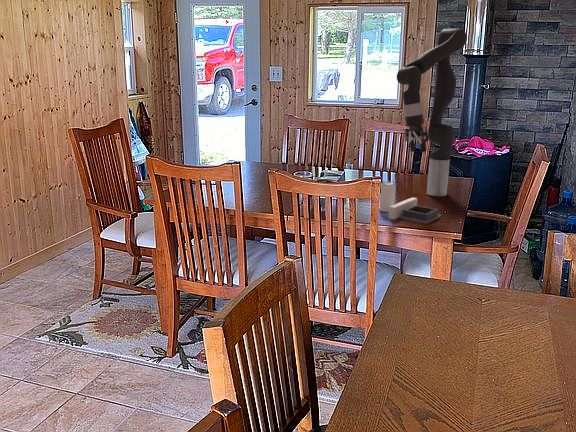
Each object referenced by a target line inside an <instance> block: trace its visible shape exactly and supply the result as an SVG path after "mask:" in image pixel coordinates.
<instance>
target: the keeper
mask: <svg viewBox="0 0 576 432" xmlns="http://www.w3.org/2000/svg"><path fill="white" fill-rule="evenodd" d="M441 217H442V214H441V213H439V209H438V208H433V207H427V206H422V205H418V204H417V205H414V206H412V207H409V208H407V209H405V210H404V212H403V215H401V216H399V217H398V219H400V220H401V219H402V220H406V221H411V222H415V223H418V224H419V223H420V224H424V225H427V224H429V223H431V222H433V221H435V220H437V219H439V218H441Z"/></svg>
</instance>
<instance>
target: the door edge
mask: <svg viewBox="0 0 576 432" xmlns="http://www.w3.org/2000/svg"><path fill="white" fill-rule="evenodd" d="M414 205H418V197H410V198H408V199H405V200H402V201H400V202H397V203H394V205H392V206H390V207H389V212H388V219H390V220H396V219H399V216H401V215H403V212H404V210H405V209H407V208H409V207H412V206H414Z"/></svg>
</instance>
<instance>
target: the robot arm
mask: <svg viewBox="0 0 576 432" xmlns="http://www.w3.org/2000/svg"><path fill="white" fill-rule="evenodd" d="M467 38H468V37H467V33H466V31H465V30H464V29H462V28H443V29H442V30H441V31H440V33H439V35H438V40H437V46H436V47H433V48H431V49H429V50H426V51H424V52H423V53H422V54H421V55H420V56H418V57H417V58H416V59H414V60H413V61H411V62H409V63H407V64H405V65H404V66H403V67H401V68H400V69H398V71H397V73H396V81H397V82H398V83H399V84H400V85H402V86H404V85H408V86H407V89H406V90H405V91H404V92H403V93H402V99H403V107H404V109H403V111H404V118H405V119H404V120H405V126H406V128H405V129H404V133H405V141H406V143H408V144H409V147H410V148H409V149H410V152H413V153H414V152H416V150H417V149H416V143H415V141H416V140H417V141H418V142H419V144H420V145H419V147H420V153H427V145H426V143H427V142H430V143H432V144H436V145H439V148H438V149H436V150H433V151H431V152H430V153H429V162H428V163H429V164H428V171H427V172H428V174H427V175H428V176H427V185H426V187H427V188H426V194H427V195H428V196H433V197H445V196H447V193H448V182H449V173H450V162H451V155H452V152H453V146H454V140H455V129H454V127H453V126H452V125H451V124H450V125H449V124H445V123H442V122H443V116H444V113H445V112H446V109H447V108H448V107H449V106H450V104H451V103H452V101H453V99H454V98H455V95H456V88H457V78H456V75H455V73H454V69H453V67H452V64H451V59H450V58H451V55H452V54H454V53H456V52H458V51H460V50H462V49H463V48H464V47H465V45H466V44H467V40H468V39H467ZM435 65H436V76H435V83H434V92H433V93H434V94H433V101H432V102H433V103H432V109H431V116H430V119H429V125H428V128H427V127H426V126H425V127H423V125H424V114H423V113H424V112H423V107H422V100H421V95H420V92H421V84H422V75H423V74H425V73H426V72H428V71H429V70H430V69H432V68H433V67H434V66H435Z"/></svg>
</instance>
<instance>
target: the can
mask: <svg viewBox="0 0 576 432" xmlns="http://www.w3.org/2000/svg"><path fill="white" fill-rule="evenodd" d="M380 183H381V184H380V185H381V193H380V192H379V195H380V210H379V212H382V213H383V212H384V213H389V207H390V206H392V205H394V204H395V199H396V184H395V182H393V181H382V182H380Z"/></svg>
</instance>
